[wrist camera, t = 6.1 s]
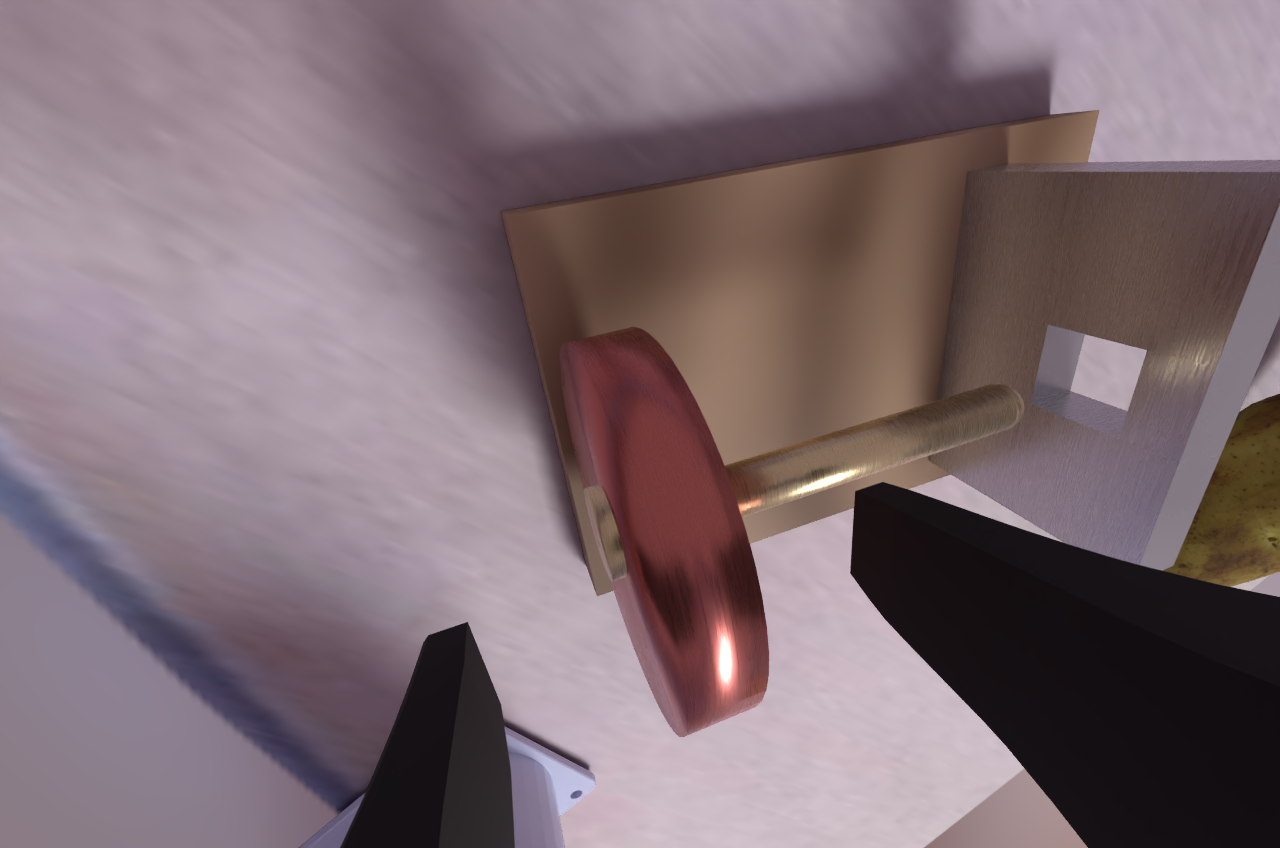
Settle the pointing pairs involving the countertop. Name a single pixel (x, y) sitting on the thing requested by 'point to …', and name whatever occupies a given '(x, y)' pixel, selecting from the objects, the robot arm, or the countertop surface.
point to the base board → (774, 292)
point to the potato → (1239, 505)
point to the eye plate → (1111, 337)
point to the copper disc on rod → (713, 509)
